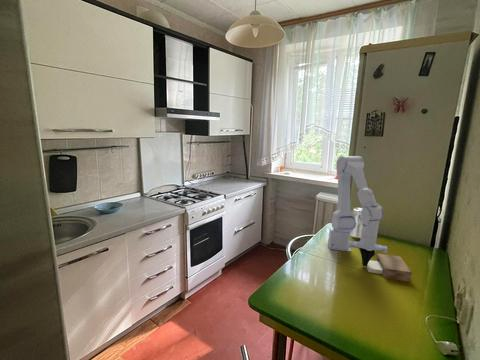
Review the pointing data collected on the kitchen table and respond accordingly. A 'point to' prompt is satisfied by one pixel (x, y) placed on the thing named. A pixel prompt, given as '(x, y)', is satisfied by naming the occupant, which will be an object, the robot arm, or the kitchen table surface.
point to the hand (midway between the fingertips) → (364, 265)
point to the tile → (374, 267)
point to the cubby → (394, 267)
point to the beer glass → (357, 223)
